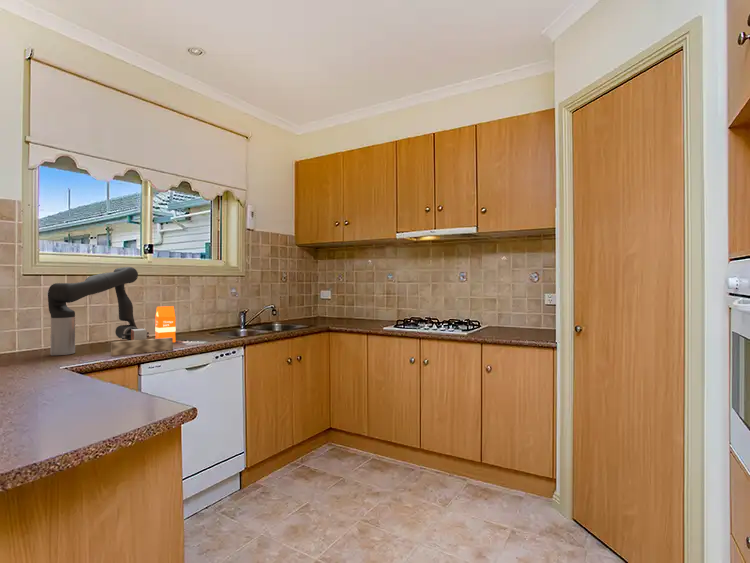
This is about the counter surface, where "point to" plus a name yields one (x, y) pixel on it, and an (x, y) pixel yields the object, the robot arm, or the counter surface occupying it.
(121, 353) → the board
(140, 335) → the small box
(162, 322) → the orange juice
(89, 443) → the counter surface
